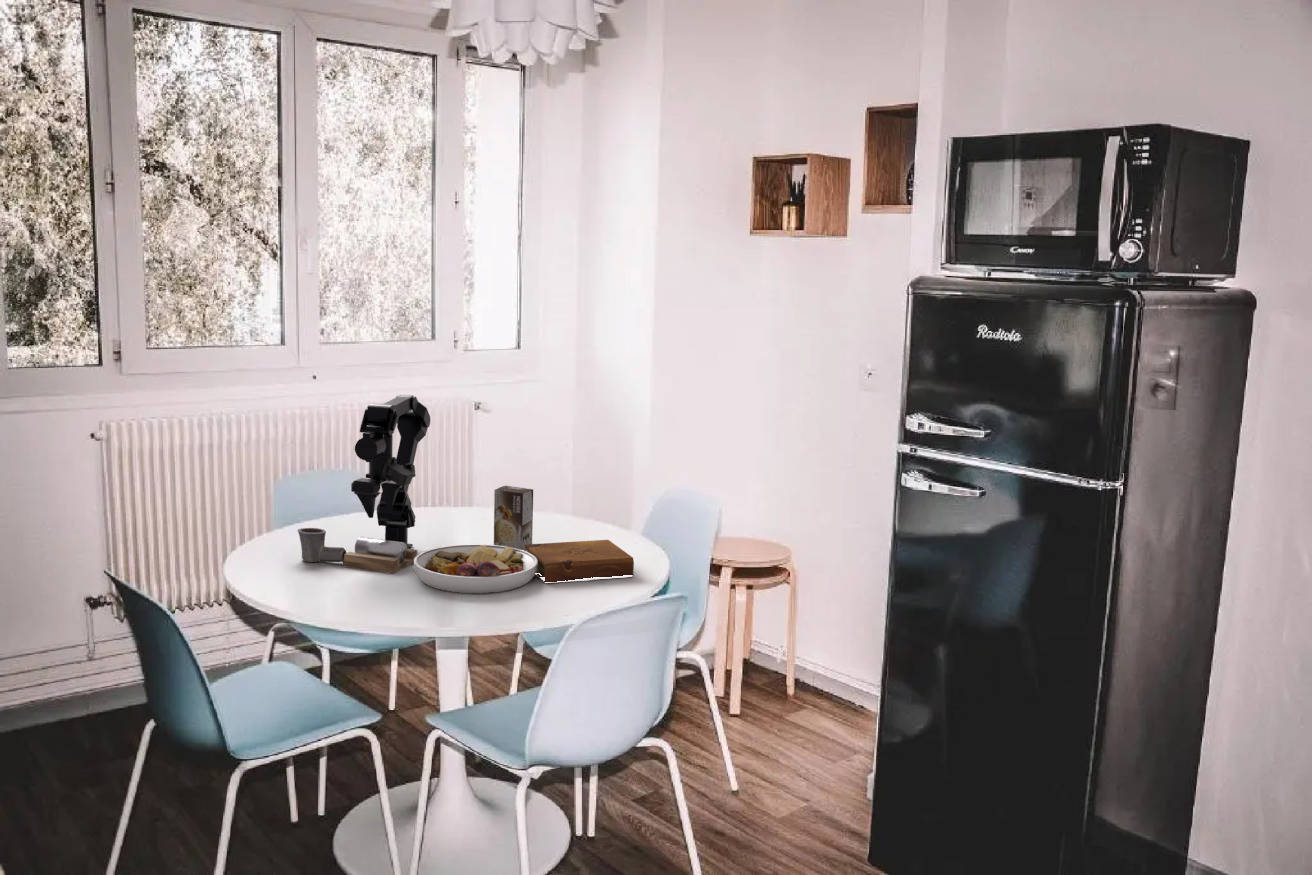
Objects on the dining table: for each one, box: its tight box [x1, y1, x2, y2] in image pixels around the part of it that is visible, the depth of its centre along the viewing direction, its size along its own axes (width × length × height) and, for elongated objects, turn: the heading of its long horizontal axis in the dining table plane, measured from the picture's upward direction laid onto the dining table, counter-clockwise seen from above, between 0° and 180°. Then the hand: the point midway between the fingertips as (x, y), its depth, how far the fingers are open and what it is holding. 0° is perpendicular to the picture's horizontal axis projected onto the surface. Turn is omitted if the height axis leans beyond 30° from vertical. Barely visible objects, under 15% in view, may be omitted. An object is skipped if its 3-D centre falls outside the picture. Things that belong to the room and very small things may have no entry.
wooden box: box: [524, 539, 635, 583], centre depth 301 cm, size 23×19×6 cm
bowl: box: [413, 543, 538, 594], centre depth 290 cm, size 30×30×8 cm
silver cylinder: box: [354, 536, 408, 562], centre depth 298 cm, size 5×12×5 cm, turn 73°
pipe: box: [297, 527, 347, 563], centre depth 298 cm, size 6×13×8 cm, turn 78°
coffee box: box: [493, 485, 534, 551], centre depth 320 cm, size 9×6×16 cm
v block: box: [342, 548, 418, 575], centre depth 299 cm, size 13×14×3 cm
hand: (380, 514), depth 300 cm, fingers open, 9 cm apart
